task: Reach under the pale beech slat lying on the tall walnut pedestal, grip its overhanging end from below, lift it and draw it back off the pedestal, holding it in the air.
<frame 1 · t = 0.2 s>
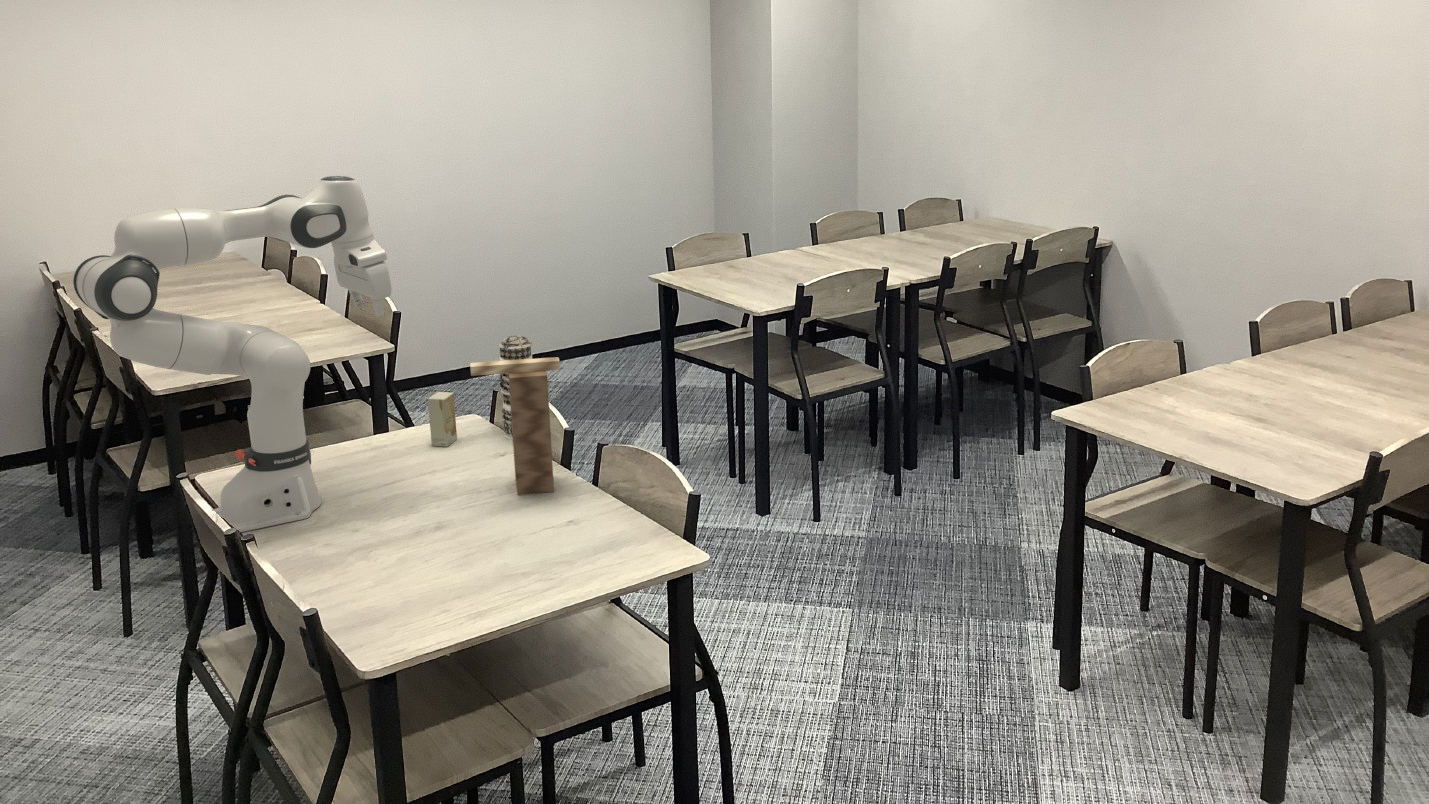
hand: (369, 311, 262), 39 cm above the table, tool pointing down, fingers open, 8 cm apart
skincare box: (444, 443, 296), on the table
pedestal: (534, 484, 269), on the table
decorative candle: (521, 435, 301), on the table
slat: (515, 370, 260), point 27 cm above the table, touching pedestal
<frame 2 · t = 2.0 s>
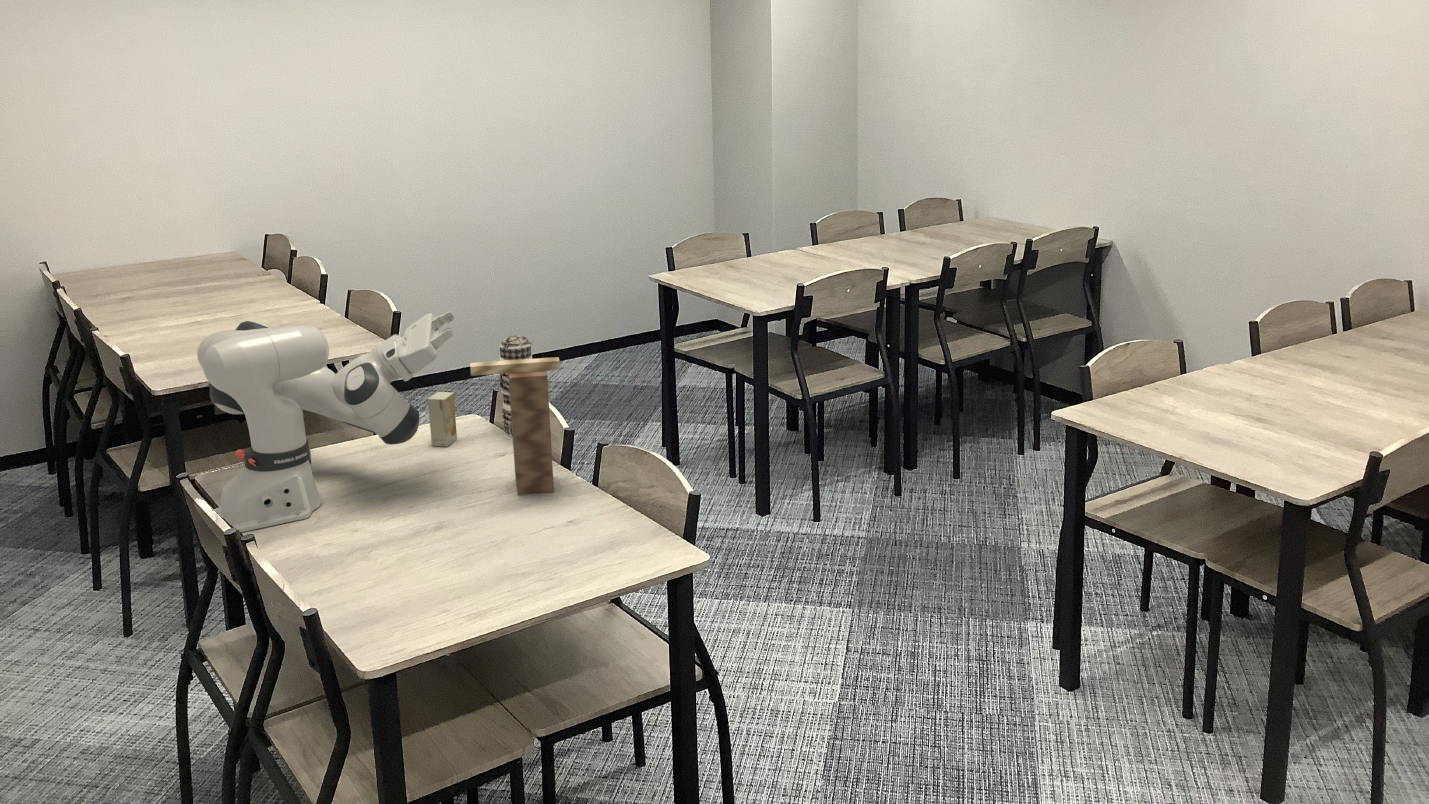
hand: (452, 322, 264), 36 cm above the table, tool pointing upward, fingers open, 8 cm apart
nothing on the table moved.
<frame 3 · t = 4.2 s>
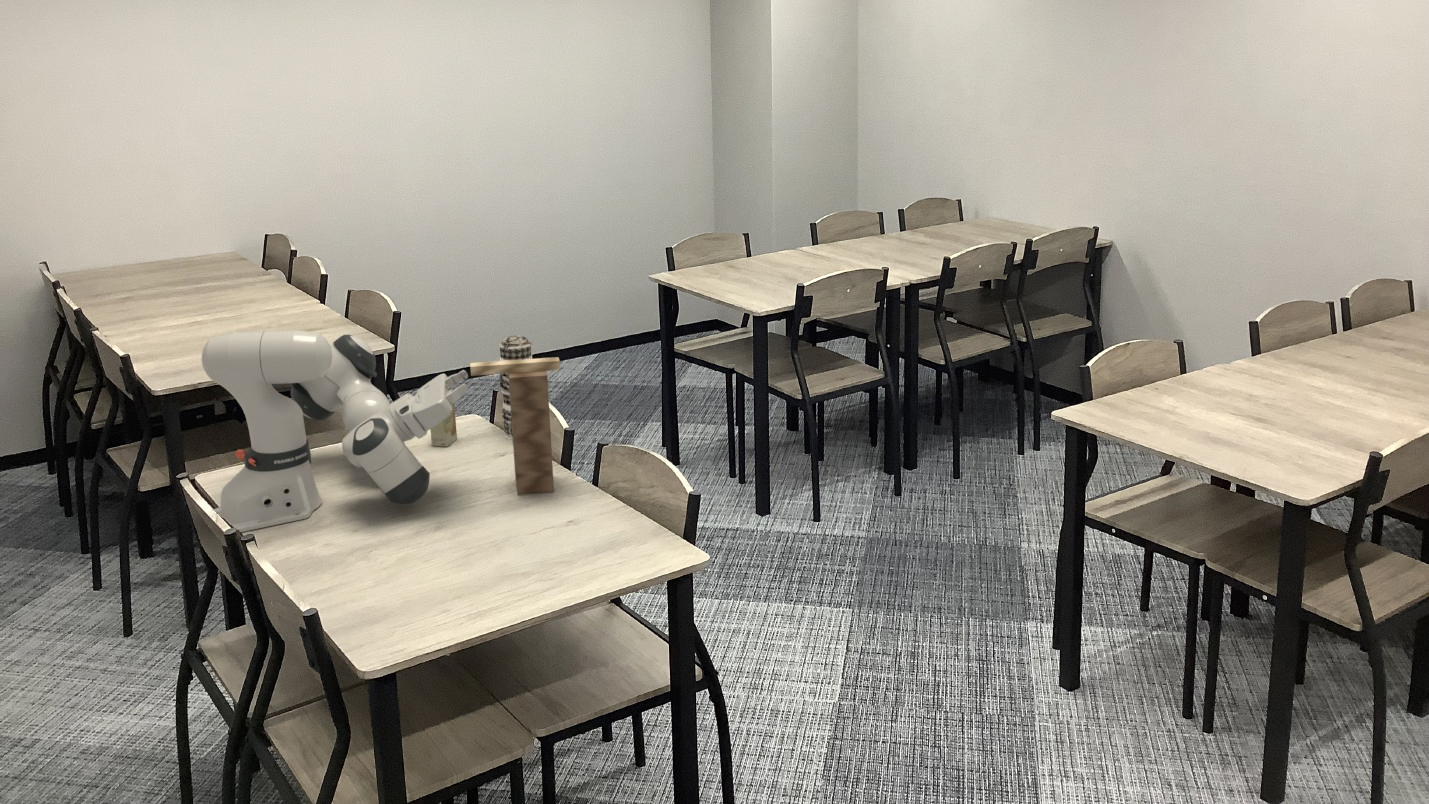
hand: (466, 379, 258), 26 cm above the table, tool pointing upward, fingers open, 8 cm apart
nothing on the table moved.
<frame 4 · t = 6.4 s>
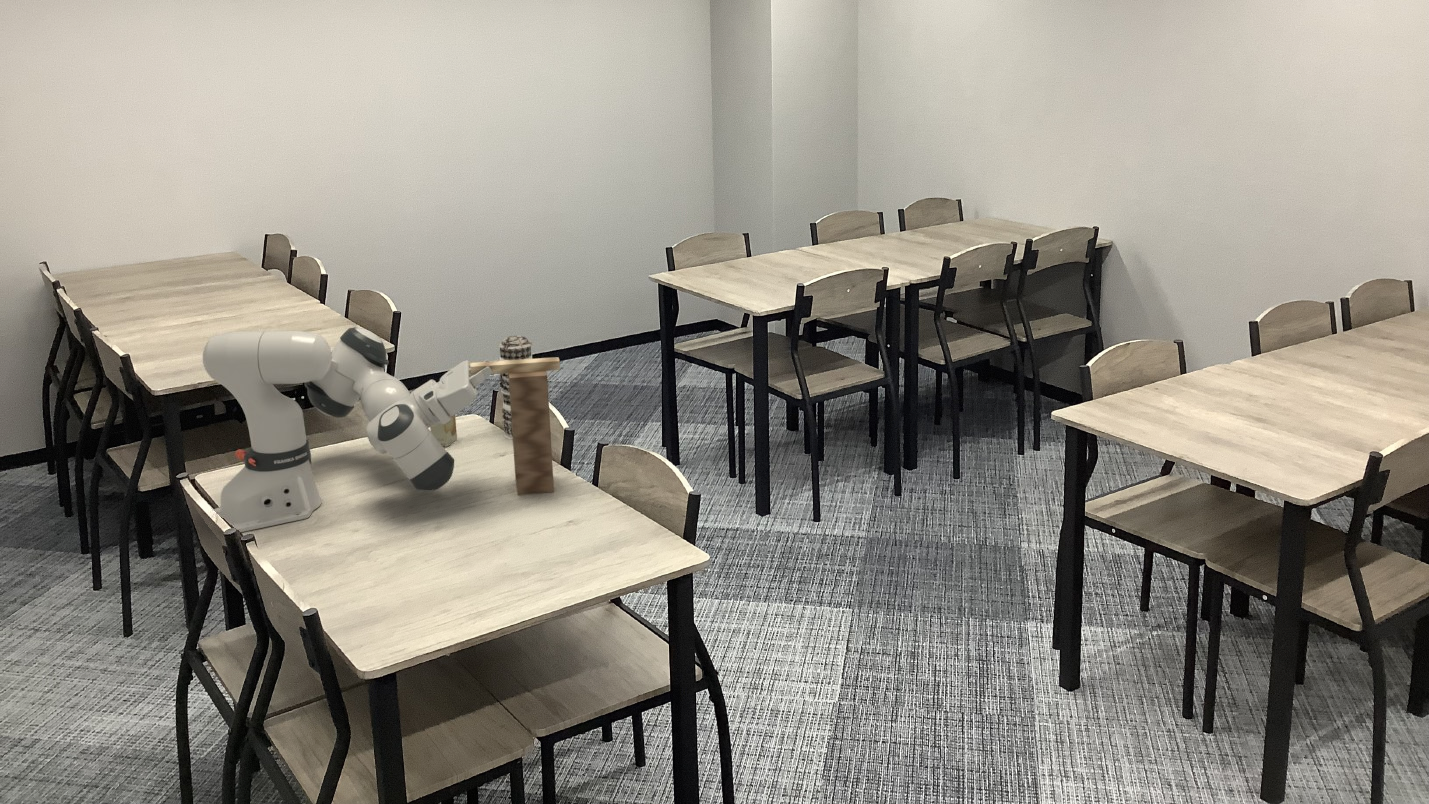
hand: (490, 365, 259), 28 cm above the table, tool pointing upward, fingers closed on slat, 3 cm apart
slat: (515, 370, 260), point 27 cm above the table, touching gripper, pedestal
everything else where it was.
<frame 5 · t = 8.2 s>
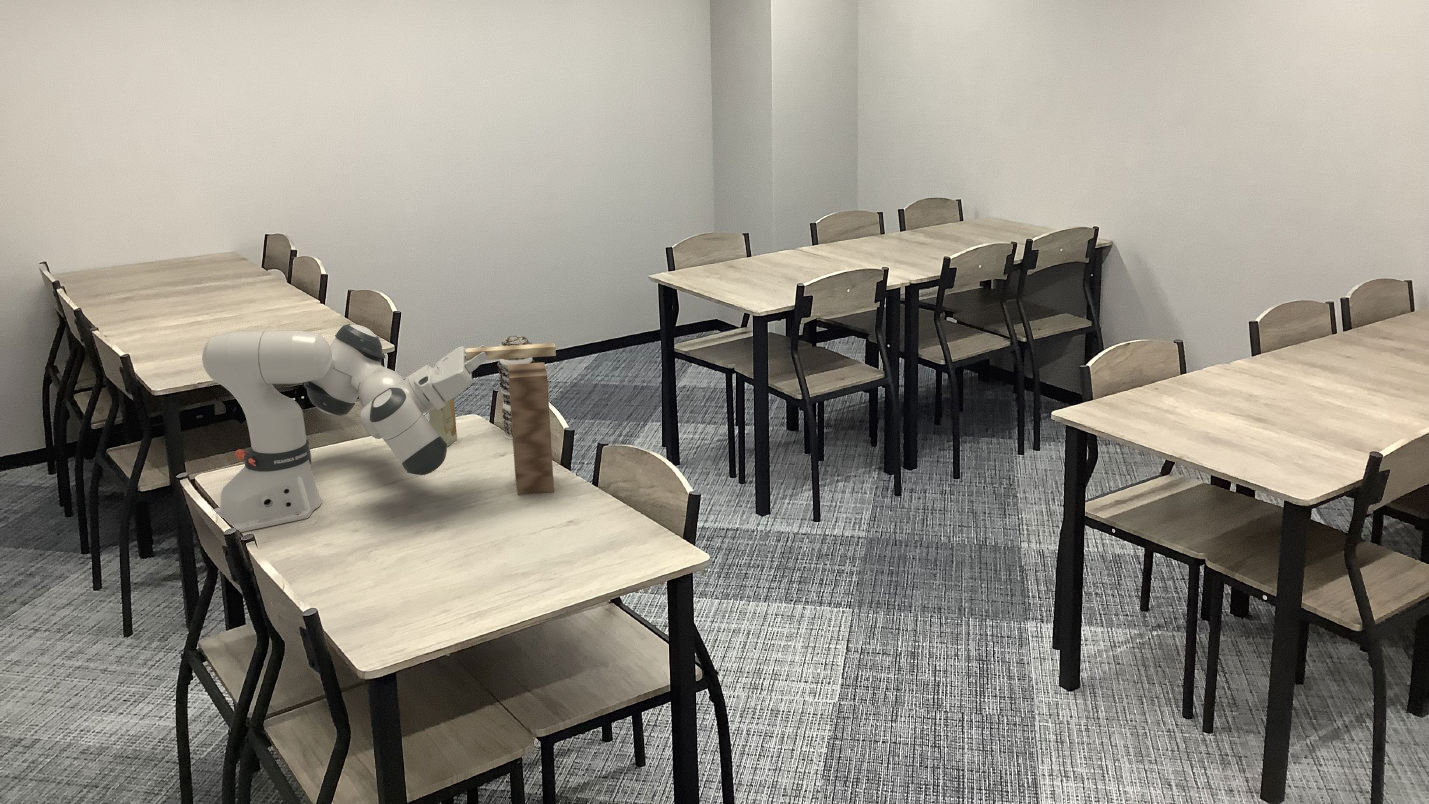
hand: (485, 351, 257), 32 cm above the table, tool pointing upward, fingers closed on slat, 3 cm apart
slat: (511, 356, 259), point 30 cm above the table, touching gripper
everything else where it was.
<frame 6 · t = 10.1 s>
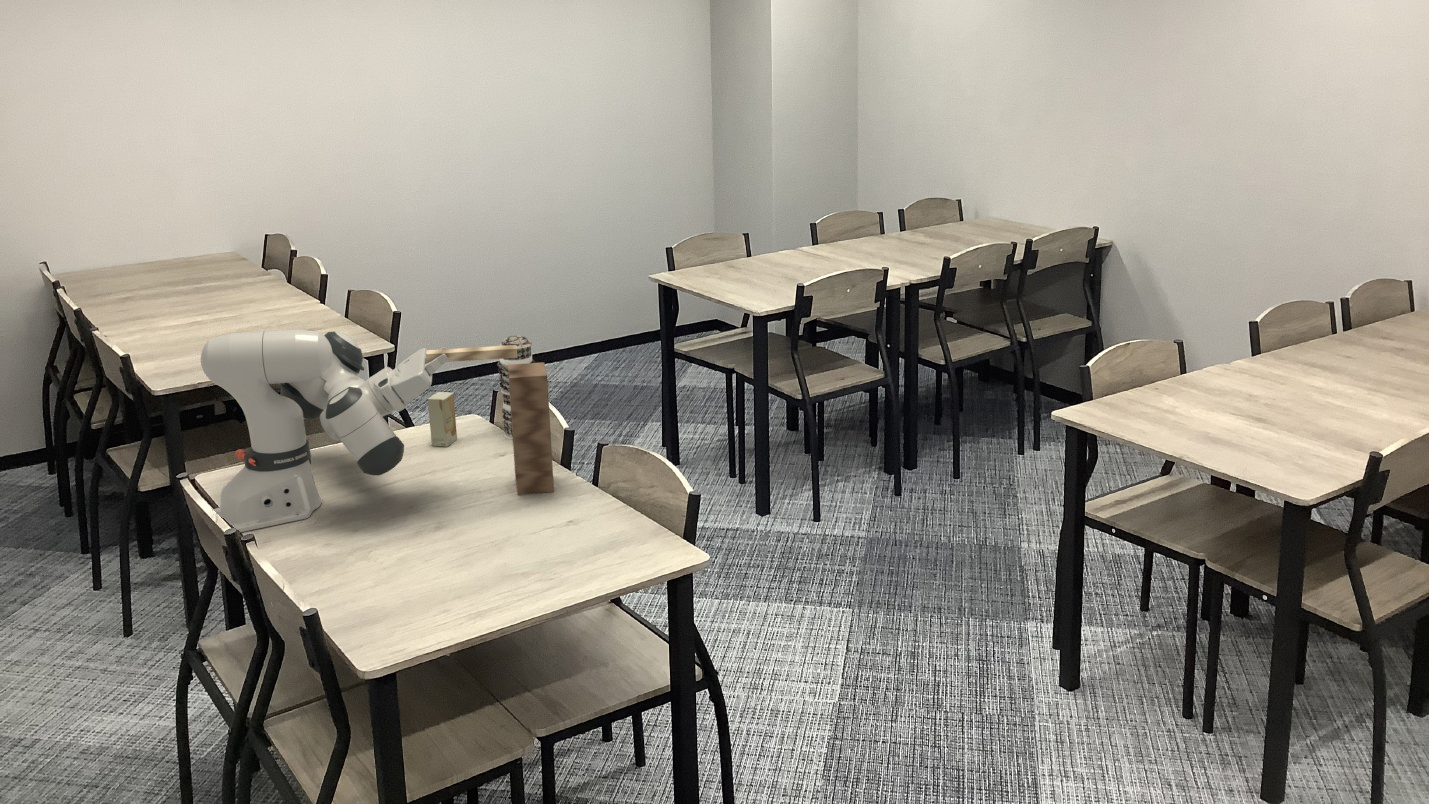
hand: (446, 353, 256), 32 cm above the table, tool pointing upward, fingers closed on slat, 3 cm apart
slat: (472, 358, 257), point 30 cm above the table, touching gripper
everything else where it was.
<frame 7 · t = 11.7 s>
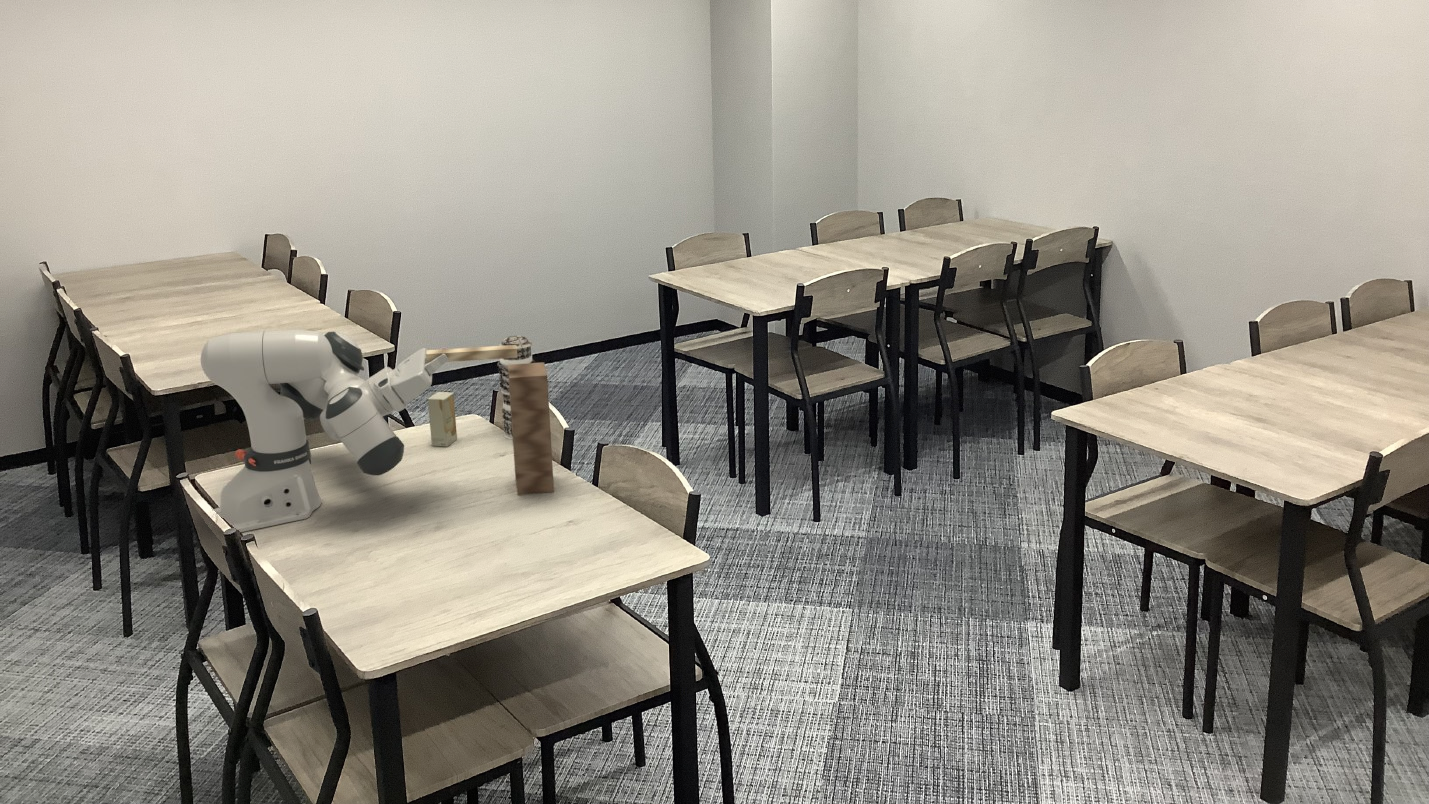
hand: (446, 353, 256), 32 cm above the table, tool pointing upward, fingers closed on slat, 3 cm apart
slat: (472, 358, 257), point 30 cm above the table, touching gripper
everything else where it was.
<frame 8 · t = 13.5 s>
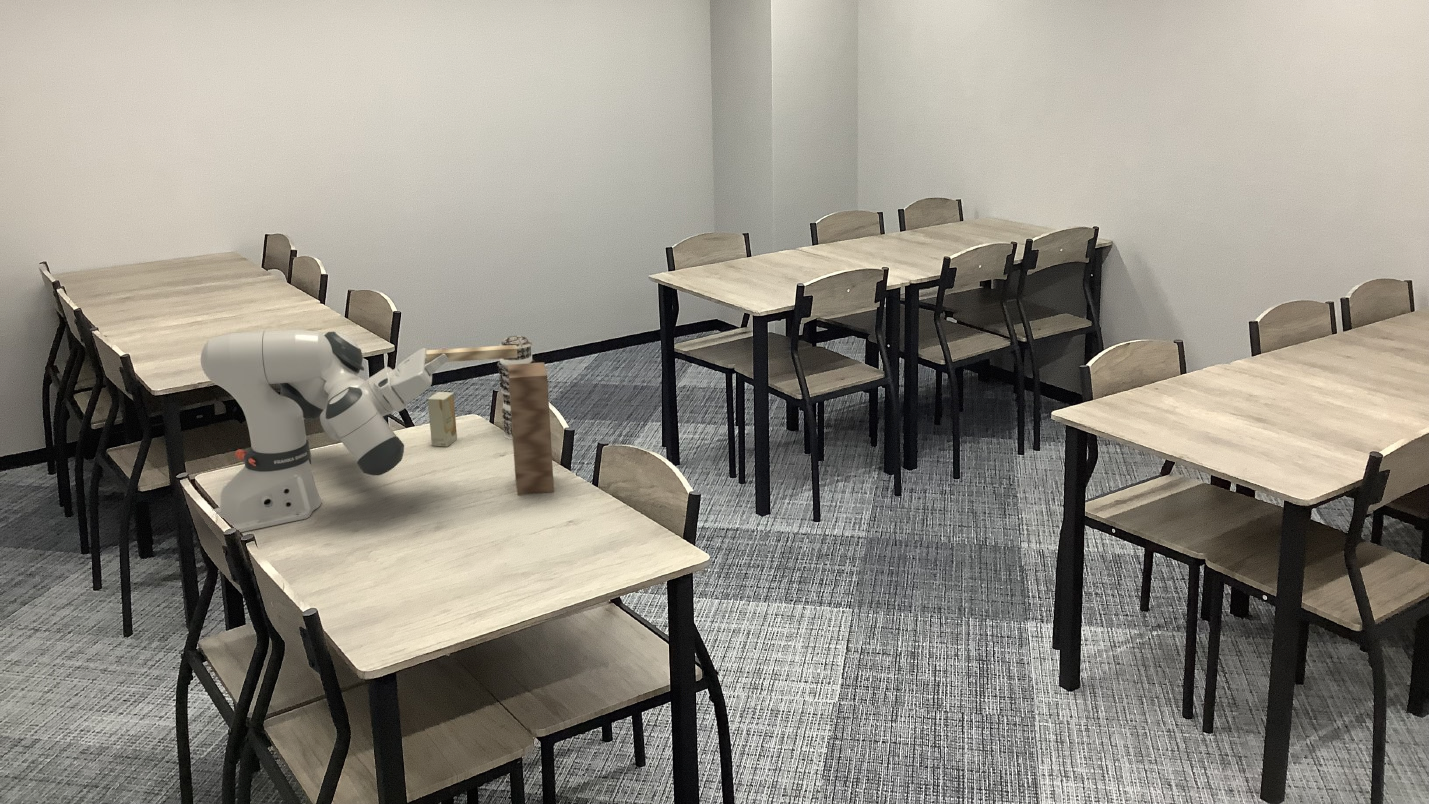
hand: (446, 353, 256), 32 cm above the table, tool pointing upward, fingers closed on slat, 3 cm apart
slat: (472, 358, 257), point 30 cm above the table, touching gripper
everything else where it was.
at the end: the gripper is holding slat; slat touching gripper; slat moved 9.5 cm from its start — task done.
